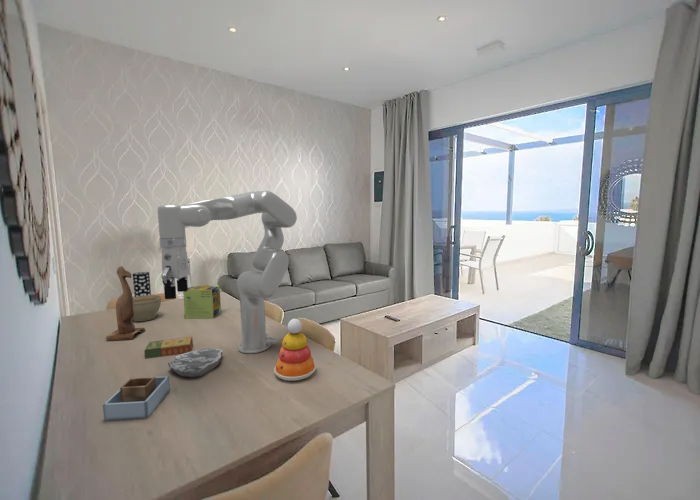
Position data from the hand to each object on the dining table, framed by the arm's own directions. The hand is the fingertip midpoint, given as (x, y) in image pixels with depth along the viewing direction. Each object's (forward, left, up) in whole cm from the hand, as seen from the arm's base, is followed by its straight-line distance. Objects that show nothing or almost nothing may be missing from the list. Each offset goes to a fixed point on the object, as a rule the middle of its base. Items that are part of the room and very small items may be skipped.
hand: (176, 294), depth 112 cm
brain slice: (-2, -7, -29) cm, 30 cm away
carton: (+13, -22, -29) cm, 39 cm away
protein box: (+15, -69, -29) cm, 76 cm away
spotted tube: (+56, -91, -28) cm, 111 cm away
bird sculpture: (+40, -42, -29) cm, 65 cm away
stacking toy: (-38, +2, -29) cm, 48 cm away
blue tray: (+6, +16, -28) cm, 33 cm away
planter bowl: (+44, -67, -28) cm, 85 cm away
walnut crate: (+6, +16, -28) cm, 32 cm away
